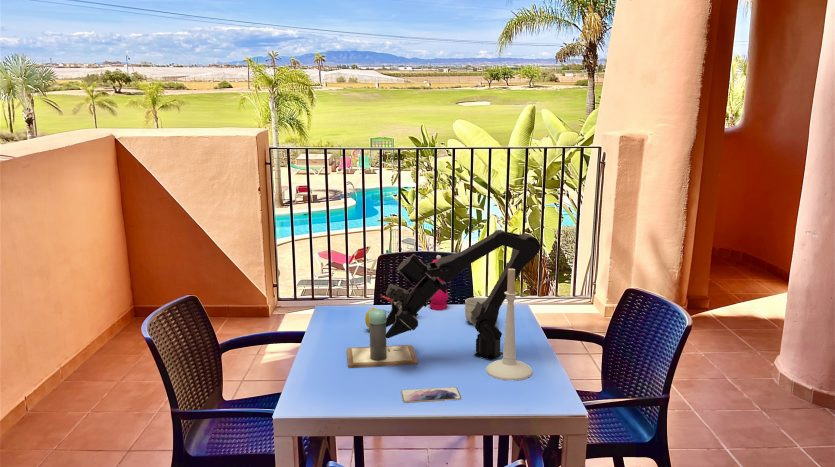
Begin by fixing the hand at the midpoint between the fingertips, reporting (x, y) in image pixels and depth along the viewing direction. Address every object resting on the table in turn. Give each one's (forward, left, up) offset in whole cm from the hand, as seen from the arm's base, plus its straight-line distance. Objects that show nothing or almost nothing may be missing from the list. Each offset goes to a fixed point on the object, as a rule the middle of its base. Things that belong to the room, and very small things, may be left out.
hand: (384, 331), depth 193 cm
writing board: (+3, -1, -9) cm, 9 cm away
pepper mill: (+18, -52, -9) cm, 56 cm away
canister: (+1, +1, -8) cm, 8 cm away
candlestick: (-33, -15, -9) cm, 37 cm away
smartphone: (-25, +11, -9) cm, 29 cm away
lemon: (+20, -18, -9) cm, 28 cm away
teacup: (-5, -46, -9) cm, 47 cm away
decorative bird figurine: (+24, -36, -9) cm, 44 cm away
